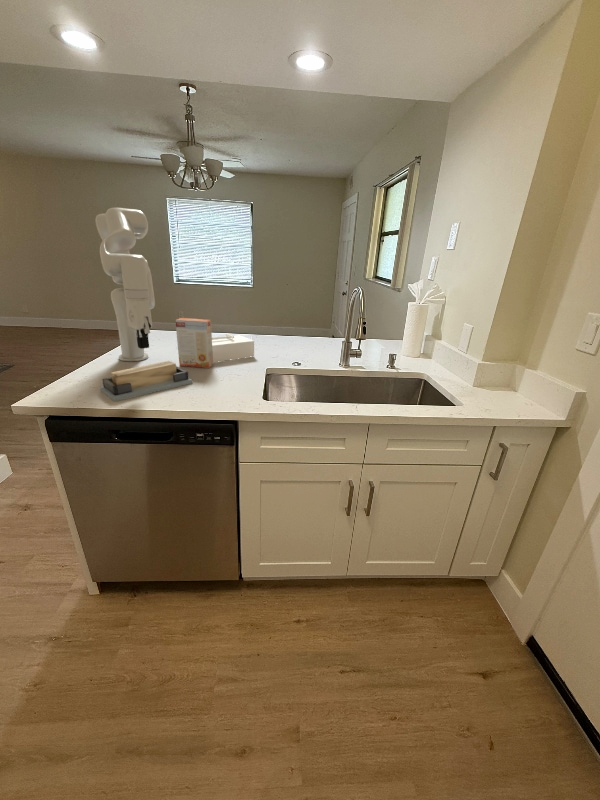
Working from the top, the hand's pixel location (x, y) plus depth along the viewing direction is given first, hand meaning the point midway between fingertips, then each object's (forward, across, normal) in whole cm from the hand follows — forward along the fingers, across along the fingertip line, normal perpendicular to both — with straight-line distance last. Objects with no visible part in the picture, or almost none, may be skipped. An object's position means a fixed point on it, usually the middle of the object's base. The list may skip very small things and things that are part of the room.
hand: (143, 347), depth 122 cm
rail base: (+15, 0, 0) cm, 15 cm away
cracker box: (+15, -13, +28) cm, 34 cm away
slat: (+14, 0, 0) cm, 14 cm away
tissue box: (+16, -18, +47) cm, 53 cm away
